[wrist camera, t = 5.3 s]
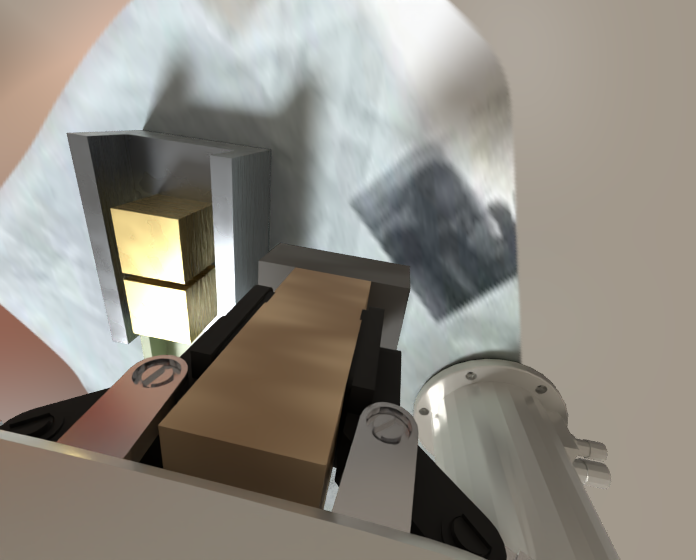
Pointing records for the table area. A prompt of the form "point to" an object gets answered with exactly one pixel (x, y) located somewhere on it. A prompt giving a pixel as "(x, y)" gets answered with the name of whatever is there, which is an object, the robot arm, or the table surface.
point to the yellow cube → (172, 305)
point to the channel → (182, 182)
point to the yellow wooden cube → (164, 237)
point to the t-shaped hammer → (284, 377)
